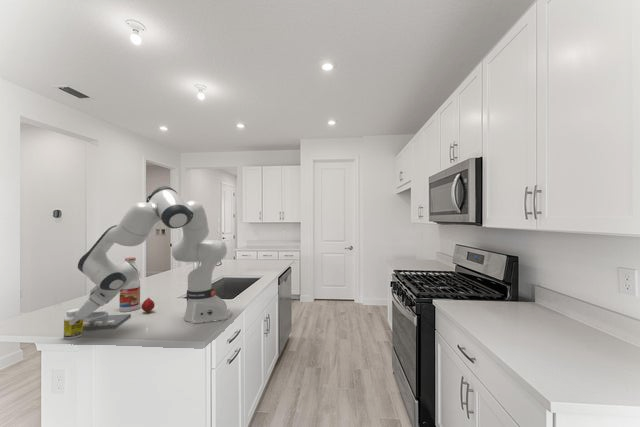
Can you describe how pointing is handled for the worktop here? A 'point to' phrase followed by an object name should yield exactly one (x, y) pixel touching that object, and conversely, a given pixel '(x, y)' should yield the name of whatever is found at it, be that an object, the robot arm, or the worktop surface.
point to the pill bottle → (72, 326)
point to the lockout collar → (96, 317)
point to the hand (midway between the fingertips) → (73, 320)
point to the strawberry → (148, 305)
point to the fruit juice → (130, 292)
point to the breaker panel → (107, 322)
